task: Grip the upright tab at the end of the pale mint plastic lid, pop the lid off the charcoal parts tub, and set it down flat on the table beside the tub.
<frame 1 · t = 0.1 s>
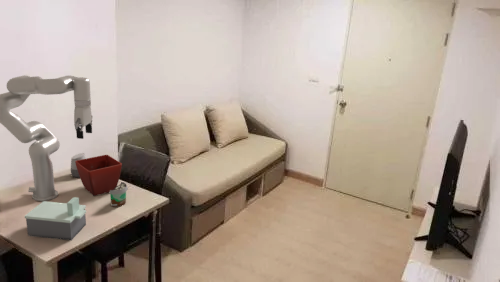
hand: (84, 135, 201), 37 cm above the table, tool pointing down, fingers open, 9 cm apart
smart speaker: (79, 175, 242), on the table
food container: (121, 204, 212), on the table
lid: (56, 214, 181), point 8 cm above the table, touching parts tub
parts tub: (58, 230, 183), on the table
plant pot: (99, 190, 226), on the table
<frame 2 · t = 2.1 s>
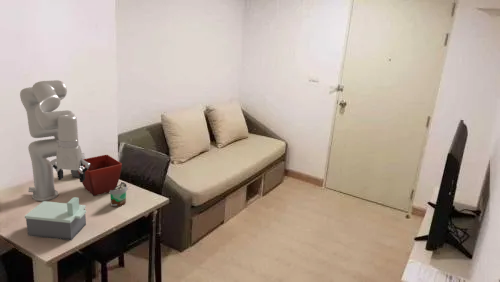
hand: (71, 180, 174), 26 cm above the table, tool pointing down, fingers open, 9 cm apart
nothing on the table moved.
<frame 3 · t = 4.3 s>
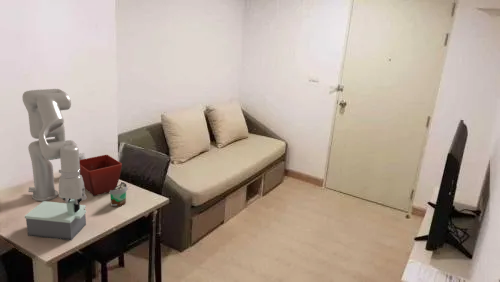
hand: (73, 210, 179), 11 cm above the table, tool pointing down, fingers closed on lid, 2 cm apart
lid: (56, 214, 181), point 8 cm above the table, touching gripper
everything else where it was.
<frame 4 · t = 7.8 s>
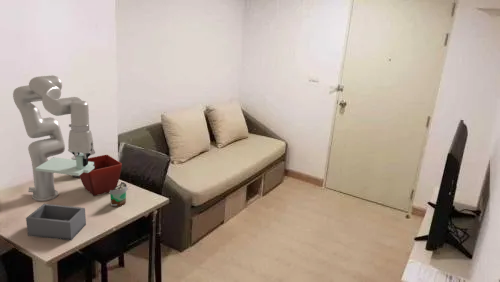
hand: (82, 164, 185), 29 cm above the table, tool pointing down, fingers closed on lid
lid: (65, 169, 187), point 26 cm above the table, touching gripper
everything else where it was.
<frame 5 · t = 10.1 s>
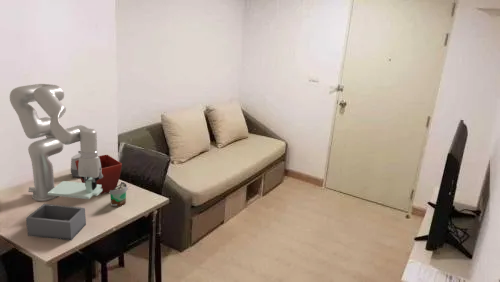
hand: (91, 188, 198), 13 cm above the table, tool pointing down, fingers closed on lid
lid: (75, 192, 199), point 10 cm above the table, touching gripper
everything else where it was.
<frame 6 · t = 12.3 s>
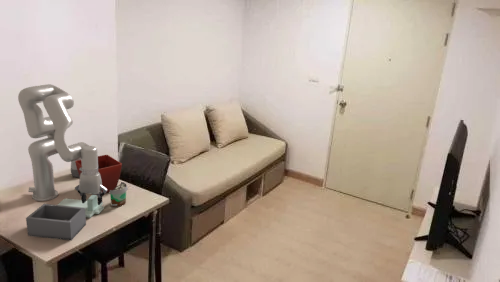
hand: (92, 202, 200), 5 cm above the table, tool pointing down, fingers open, 7 cm apart
lid: (77, 210, 202), on the table
everything else where it was.
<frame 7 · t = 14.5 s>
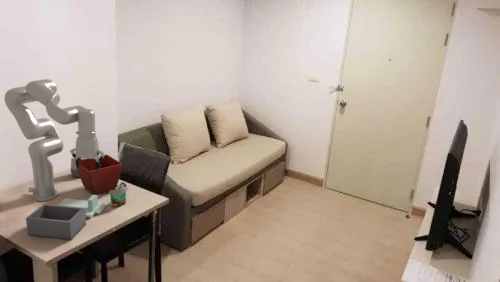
hand: (88, 167, 195), 24 cm above the table, tool pointing down, fingers open, 9 cm apart
nothing on the table moved.
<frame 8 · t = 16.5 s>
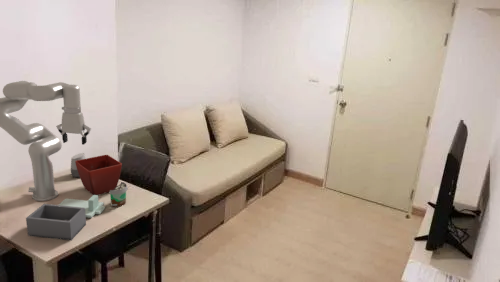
hand: (74, 142, 200), 33 cm above the table, tool pointing down, fingers open, 9 cm apart
nothing on the table moved.
at the end: lid touching table; lid on the table; the gripper is holding nothing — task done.
